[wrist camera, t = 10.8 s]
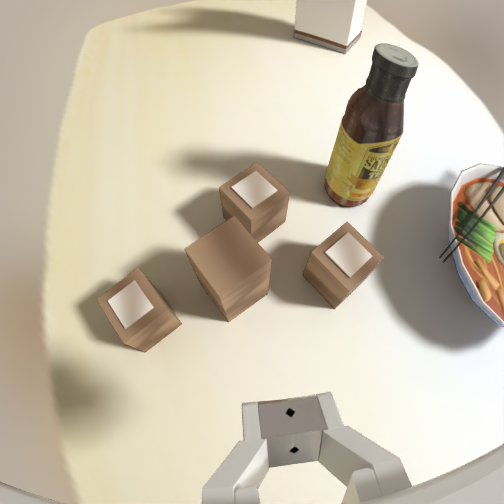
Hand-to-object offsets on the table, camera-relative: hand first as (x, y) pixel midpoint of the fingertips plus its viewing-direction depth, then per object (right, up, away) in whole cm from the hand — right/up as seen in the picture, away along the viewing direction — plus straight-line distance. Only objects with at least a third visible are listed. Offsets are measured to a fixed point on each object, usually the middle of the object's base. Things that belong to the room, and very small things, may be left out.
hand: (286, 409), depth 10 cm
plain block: (-3, +1, +24) cm, 24 cm away
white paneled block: (+8, +3, +24) cm, 26 cm away
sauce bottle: (+11, +13, +29) cm, 34 cm away
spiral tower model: (+15, +51, +46) cm, 71 cm away
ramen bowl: (+31, +3, +25) cm, 39 cm away
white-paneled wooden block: (-1, +9, +27) cm, 29 cm away
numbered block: (-12, -2, +22) cm, 26 cm away
